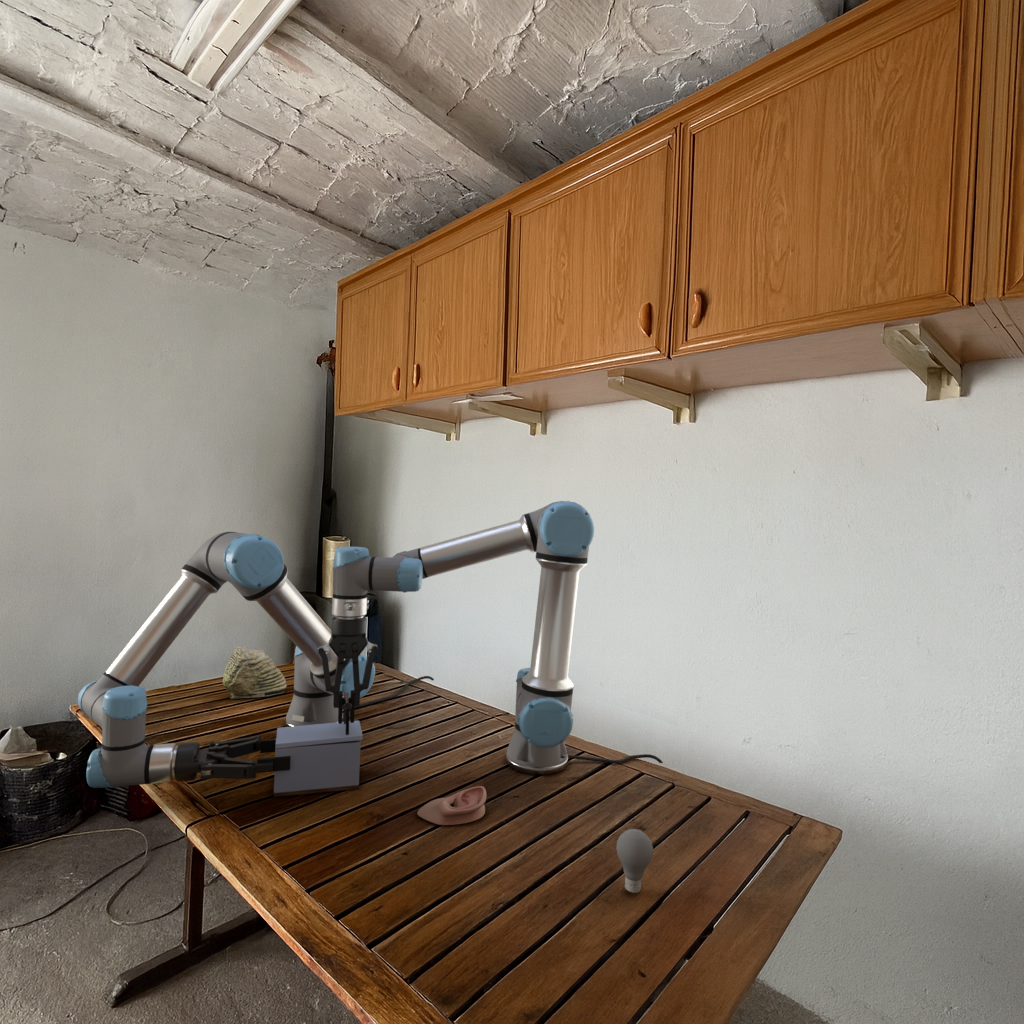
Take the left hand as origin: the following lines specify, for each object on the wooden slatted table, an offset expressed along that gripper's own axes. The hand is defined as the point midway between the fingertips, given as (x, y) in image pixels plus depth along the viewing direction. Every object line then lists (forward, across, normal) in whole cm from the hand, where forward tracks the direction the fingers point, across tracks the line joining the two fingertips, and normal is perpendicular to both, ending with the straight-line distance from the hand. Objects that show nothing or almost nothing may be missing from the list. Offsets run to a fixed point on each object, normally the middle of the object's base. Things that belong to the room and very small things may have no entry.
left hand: (290, 753), depth 138 cm
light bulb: (+55, +52, -7) cm, 77 cm away
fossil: (-12, -67, -7) cm, 68 cm away
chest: (+6, 0, -7) cm, 9 cm away
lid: (+6, 0, +3) cm, 7 cm away
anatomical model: (+32, +20, -7) cm, 38 cm away
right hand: (+11, 0, +6) cm, 13 cm away
